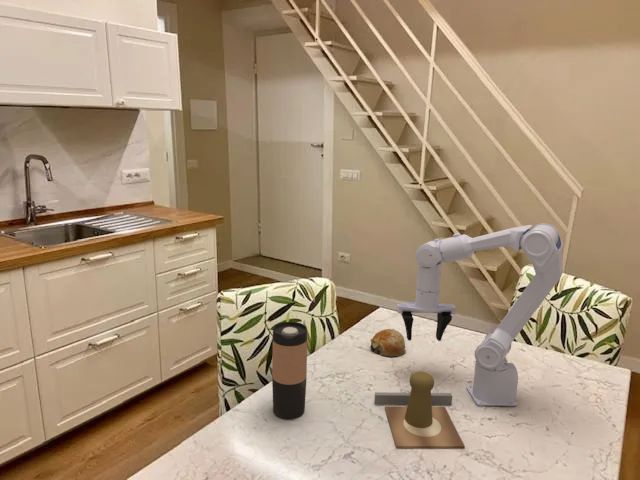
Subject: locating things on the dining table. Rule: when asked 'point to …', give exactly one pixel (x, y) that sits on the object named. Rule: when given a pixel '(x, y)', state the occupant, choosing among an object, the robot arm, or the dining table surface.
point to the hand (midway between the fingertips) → (423, 339)
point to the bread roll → (388, 343)
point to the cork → (420, 400)
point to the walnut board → (423, 430)
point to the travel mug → (289, 369)
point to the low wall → (403, 398)
